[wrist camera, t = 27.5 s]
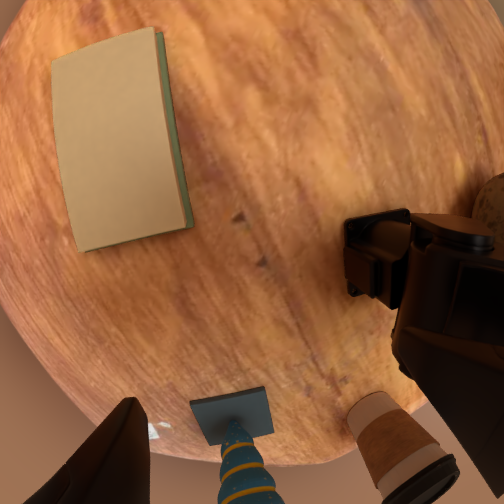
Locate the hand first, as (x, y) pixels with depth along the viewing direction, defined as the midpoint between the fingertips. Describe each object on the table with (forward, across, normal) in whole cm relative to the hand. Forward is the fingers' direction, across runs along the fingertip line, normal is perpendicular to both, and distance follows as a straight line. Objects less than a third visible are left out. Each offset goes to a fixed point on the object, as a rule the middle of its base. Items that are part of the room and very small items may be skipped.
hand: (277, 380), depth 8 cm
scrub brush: (+13, +6, -10) cm, 17 cm away
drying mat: (+13, +3, +16) cm, 21 cm away
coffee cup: (+13, -12, +22) cm, 28 cm away
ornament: (+13, +3, +16) cm, 20 cm away
